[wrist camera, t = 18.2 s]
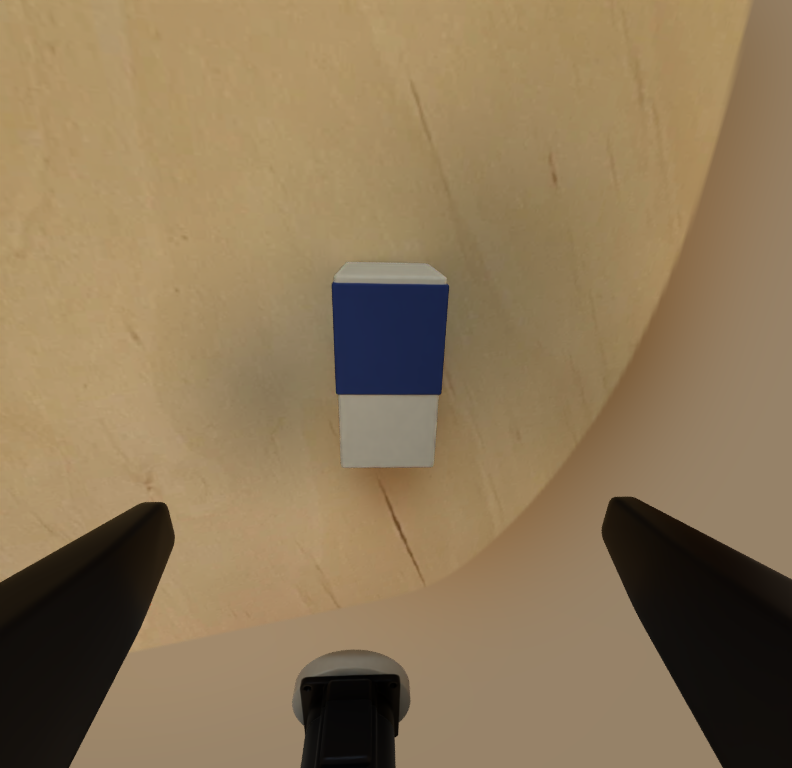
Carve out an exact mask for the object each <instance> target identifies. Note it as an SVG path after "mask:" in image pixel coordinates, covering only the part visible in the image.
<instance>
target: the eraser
mask: <svg viewBox="0 0 792 768" xmlns="http://www.w3.org/2000/svg"><path fill="white" fill-rule="evenodd" d="M448 295H449V285H448V284H447V278H446V277H445V276H444V275H442V274H441V273H440V272H438V271H437V270H436V269H434V268H433V267H432V266H430V265H429V264H427V263H385V262H346V263H345V264H344V265H343V266H342V267H341V269H340V270H339V271H338V272H337V273H336V274H335V276H334V282H333V283H332V305H333V330H334V355H335V380H336V394H338V404H339V431H340V457H341V466H342V468H411V467H433V465H434V457H435V443H436V429H437V415H438V401H439V395H440V394H441V390H442V377H443V363H444V349H445V336H446V322H447V309H448Z"/></svg>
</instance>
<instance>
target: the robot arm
mask: <svg viewBox="0 0 792 768" xmlns="http://www.w3.org/2000/svg"><path fill="white" fill-rule="evenodd" d="M602 537H603V540H604V543H605V545H606V547H607V549H608V552H609V554H610V556H611V558H612V560H613V563H614V565H615V567H616V569H617V572H618V574H619V576H620V578H621V580H622V583H623V585H624V587H625V590H626V592H627V594H628V596H629V598H630V601H631V602H632V605H633V607H634V609H635V611H636V613H637V615H638V617H639V619H640V621H641V622H642V624H643V626H644V628H645V630H646V632H647V633H648V635H649V637H650V639H651V641H652V642H653V644H654V646H655V648H656V649H657V651H658V653H659V655H660V656H661V658H662V660H663V662H664V664H665V665H666V667H667V669H668V670H669V672H670V674H671V676H672V678H673V679H674V681H675V683H676V685H677V687H678V689H679V690H680V692H681V694H682V696H683V697H684V699H685V701H686V703H687V705H688V706H689V708H690V710H691V711H692V714H693V715H694V717H695V719H696V721H697V722H698V724H699V726H700V728H701V730H702V731H703V733H704V735H705V737H706V738H707V740H708V742H709V744H710V746H711V747H712V749H713V751H714V753H715V754H716V756H717V758H718V760H719V762H720V763H721V765H722V767H723V768H792V579H790V578H788V577H786V576H784V575H782V574H780V573H778V572H776V571H775V570H773V569H771V568H769V567H767V566H765V565H763V564H761V563H759V562H757V561H755V560H754V559H752V558H750V557H748V556H746V555H744V554H742V553H740V552H738V551H736V550H734V549H732V548H730V547H728V546H727V545H725V544H722V543H721V542H719V541H717V540H715V539H713V538H711V537H709V536H707V535H705V534H704V533H701V532H700V531H698V530H696V529H694V528H692V527H690V526H688V525H686V524H684V523H683V522H681V521H679V520H677V519H675V518H673V517H671V516H669V515H667V514H665V513H663V512H661V511H660V510H658V509H656V508H654V507H652V506H649V505H648V504H646V503H644V502H642V501H640V500H638V499H636V498H634V497H614V498H612V499H611V500H610V501H609V504H608V507H607V511H606V514H605V518H604V522H603V525H602ZM174 540H175V535H174V530H173V526H172V522H171V518H170V514H169V510H168V507H167V505H166V504H165V503H163V502H144V503H140V504H138V505H136V506H135V507H133V508H131V509H129V510H128V511H126V512H124V513H122V514H120V515H119V516H117V517H115V518H113V519H112V520H110V521H108V522H106V523H105V524H103V525H101V526H99V527H98V528H96V529H94V530H92V531H90V532H89V533H87V534H85V535H83V536H82V537H80V538H78V539H76V540H75V541H73V542H71V543H69V544H67V545H66V546H64V547H62V548H60V549H59V550H57V551H55V552H53V553H52V554H50V555H48V556H46V557H45V558H43V559H41V560H39V561H37V562H36V563H34V564H32V565H30V566H29V567H27V568H25V569H23V570H22V571H20V572H18V573H16V574H14V575H13V576H11V577H9V578H7V579H6V580H4V581H2V582H0V768H69V766H70V764H71V762H72V760H73V759H74V757H75V755H76V753H77V751H78V749H79V747H80V745H81V743H82V741H83V739H84V737H85V735H86V733H87V731H88V729H89V727H90V726H91V723H92V722H93V720H94V718H95V716H96V714H97V712H98V710H99V708H100V706H101V704H102V702H103V700H104V698H105V696H106V694H107V692H108V691H109V689H110V687H111V685H112V683H113V681H114V679H115V677H116V675H117V673H118V671H119V669H120V667H121V665H122V663H123V661H124V659H125V657H126V656H127V654H128V652H129V650H130V648H131V646H132V644H133V642H134V640H135V638H136V636H137V634H138V632H139V630H140V628H141V625H142V623H143V621H144V618H145V616H146V614H147V611H148V609H149V606H150V604H151V601H152V599H153V596H154V594H155V591H156V589H157V586H158V584H159V581H160V579H161V576H162V574H163V571H164V569H165V566H166V564H167V561H168V559H169V556H170V554H171V551H172V549H173V546H174ZM300 695H301V704H302V713H303V721H304V729H305V741H304V748H303V755H302V762H301V768H395V740H394V738H395V737H397V736H398V730H399V708H400V676H399V675H397V674H374V675H345V676H316V677H305V678H303V679H302V680H301V684H300Z"/></svg>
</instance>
